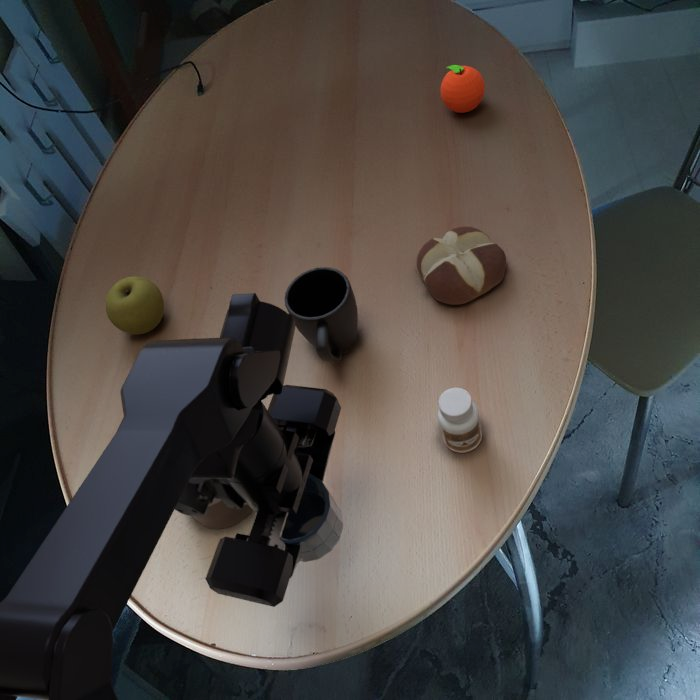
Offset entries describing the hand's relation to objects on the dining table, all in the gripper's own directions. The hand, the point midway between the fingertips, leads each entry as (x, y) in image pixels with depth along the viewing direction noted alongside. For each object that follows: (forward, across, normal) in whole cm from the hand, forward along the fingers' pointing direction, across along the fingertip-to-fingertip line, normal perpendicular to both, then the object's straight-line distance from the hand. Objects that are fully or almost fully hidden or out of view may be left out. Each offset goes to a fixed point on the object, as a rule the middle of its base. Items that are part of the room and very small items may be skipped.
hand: (305, 522), depth 64 cm
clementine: (+10, -75, +1) cm, 75 cm away
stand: (+9, -5, -15) cm, 18 cm away
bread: (+10, -40, +7) cm, 42 cm away
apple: (+10, -28, -37) cm, 47 cm away
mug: (+10, -26, -7) cm, 28 cm away
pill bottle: (+10, -16, +11) cm, 22 cm away
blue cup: (+2, 0, 0) cm, 2 cm away
